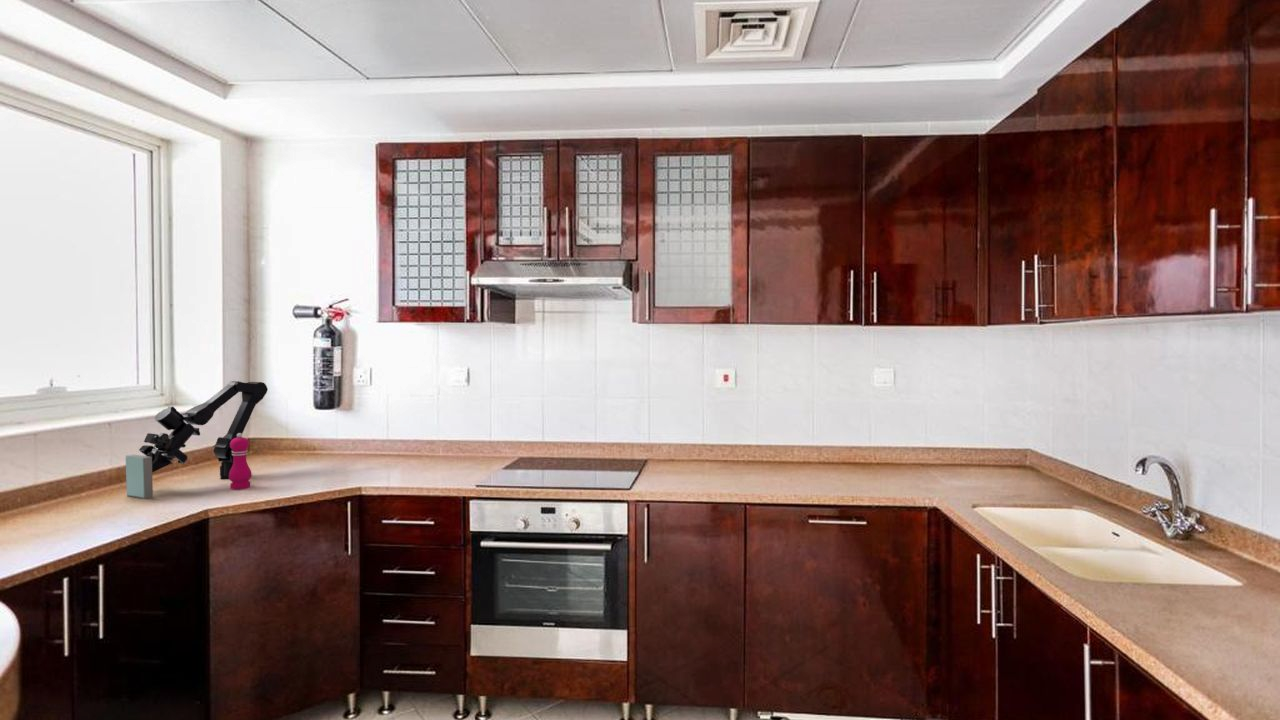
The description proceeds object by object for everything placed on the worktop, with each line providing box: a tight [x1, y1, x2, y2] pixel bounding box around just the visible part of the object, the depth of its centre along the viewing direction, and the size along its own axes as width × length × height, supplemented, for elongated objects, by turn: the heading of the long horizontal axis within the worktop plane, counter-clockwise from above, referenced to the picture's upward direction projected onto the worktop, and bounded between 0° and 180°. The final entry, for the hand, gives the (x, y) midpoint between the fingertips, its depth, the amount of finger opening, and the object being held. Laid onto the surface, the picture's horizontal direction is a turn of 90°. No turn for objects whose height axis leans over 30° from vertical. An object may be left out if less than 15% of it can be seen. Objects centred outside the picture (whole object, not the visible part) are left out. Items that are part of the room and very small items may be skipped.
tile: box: [125, 454, 154, 500], centre depth 226 cm, size 3×10×14 cm, turn 67°
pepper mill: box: [229, 433, 253, 490], centre depth 240 cm, size 7×7×20 cm
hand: (145, 474), depth 228 cm, fingers closed
